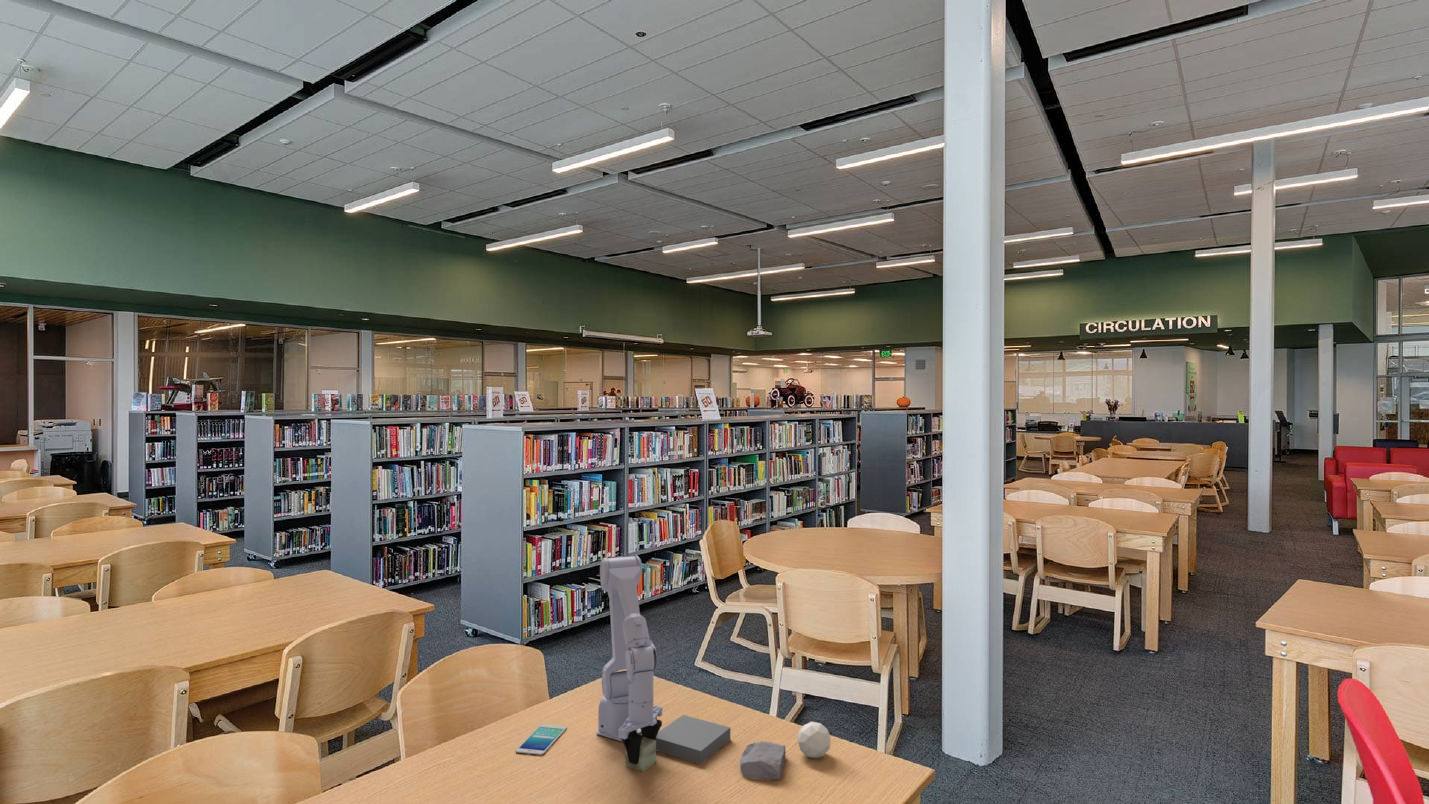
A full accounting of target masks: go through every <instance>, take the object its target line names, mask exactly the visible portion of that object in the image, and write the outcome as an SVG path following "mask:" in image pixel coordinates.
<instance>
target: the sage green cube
mask: <svg viewBox="0 0 1429 804" xmlns="http://www.w3.org/2000/svg"><path fill="white" fill-rule="evenodd" d="M656 763H657V751H656V740H653V739H649V738H646V737H643V739H642V742H641V746H640V752H639V761H638V764H636V765H635V764H632V763H629V759H628V755H627V751H626V750H625V766H626V767H628V768H631V769H634V770H637V771H640V772H644V771H646V770H648V769H649V768H650V767H651V766H653V765H654V764H656Z"/></svg>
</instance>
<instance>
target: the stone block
mask: <svg viewBox="0 0 1429 804" xmlns="http://www.w3.org/2000/svg"><path fill="white" fill-rule="evenodd" d="M785 759H786V745H785V744H781V743H780V744H779V743H776V742H771V741H758V742H757V741H756V742H753V743H749V744H747V745H746V748H745V749H744V750H743V752H742V754H741V757H740V758H739V764H740V766H739V767H740V771H741V774H742V776H743V777H744V778H749V779H751V780H767V781H780V779H781V777H782V771H783V767H784V763H785Z"/></svg>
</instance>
